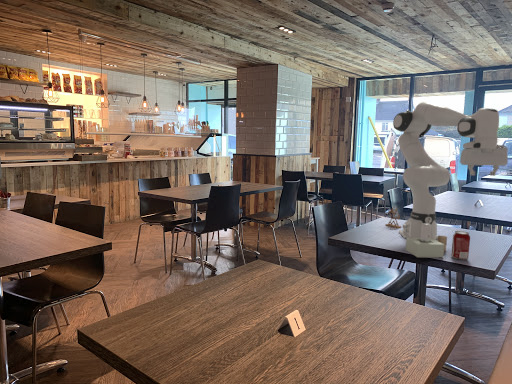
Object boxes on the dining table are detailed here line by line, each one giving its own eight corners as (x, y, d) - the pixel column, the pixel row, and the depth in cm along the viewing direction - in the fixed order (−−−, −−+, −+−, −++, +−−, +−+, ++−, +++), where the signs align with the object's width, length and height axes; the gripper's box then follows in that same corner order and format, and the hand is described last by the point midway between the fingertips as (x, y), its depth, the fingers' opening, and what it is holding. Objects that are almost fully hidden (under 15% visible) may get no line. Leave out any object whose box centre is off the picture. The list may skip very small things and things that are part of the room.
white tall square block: (417, 252, 184) (420, 223, 182) (426, 252, 184) (428, 223, 183) (421, 254, 180) (424, 225, 178) (430, 254, 180) (432, 225, 179)
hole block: (405, 249, 188) (406, 237, 187) (430, 250, 189) (431, 237, 188) (417, 257, 176) (418, 244, 175) (443, 257, 177) (444, 244, 176)
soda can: (470, 261, 172) (472, 234, 171) (453, 259, 174) (456, 233, 172) (465, 256, 179) (467, 231, 177) (449, 255, 180) (451, 230, 179)
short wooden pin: (434, 249, 190) (436, 235, 189) (443, 249, 190) (444, 235, 189) (439, 251, 186) (440, 237, 185) (447, 252, 186) (448, 237, 185)
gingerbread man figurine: (401, 227, 237) (403, 208, 235) (397, 228, 235) (399, 208, 233) (389, 225, 244) (390, 206, 242) (385, 225, 242) (386, 206, 240)
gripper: (503, 145, 180) (500, 175, 181) (459, 144, 179) (457, 174, 180) (512, 145, 173) (509, 176, 175) (467, 144, 172) (464, 175, 174)
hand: (482, 175), depth 178 cm, fingers open, 8 cm apart
